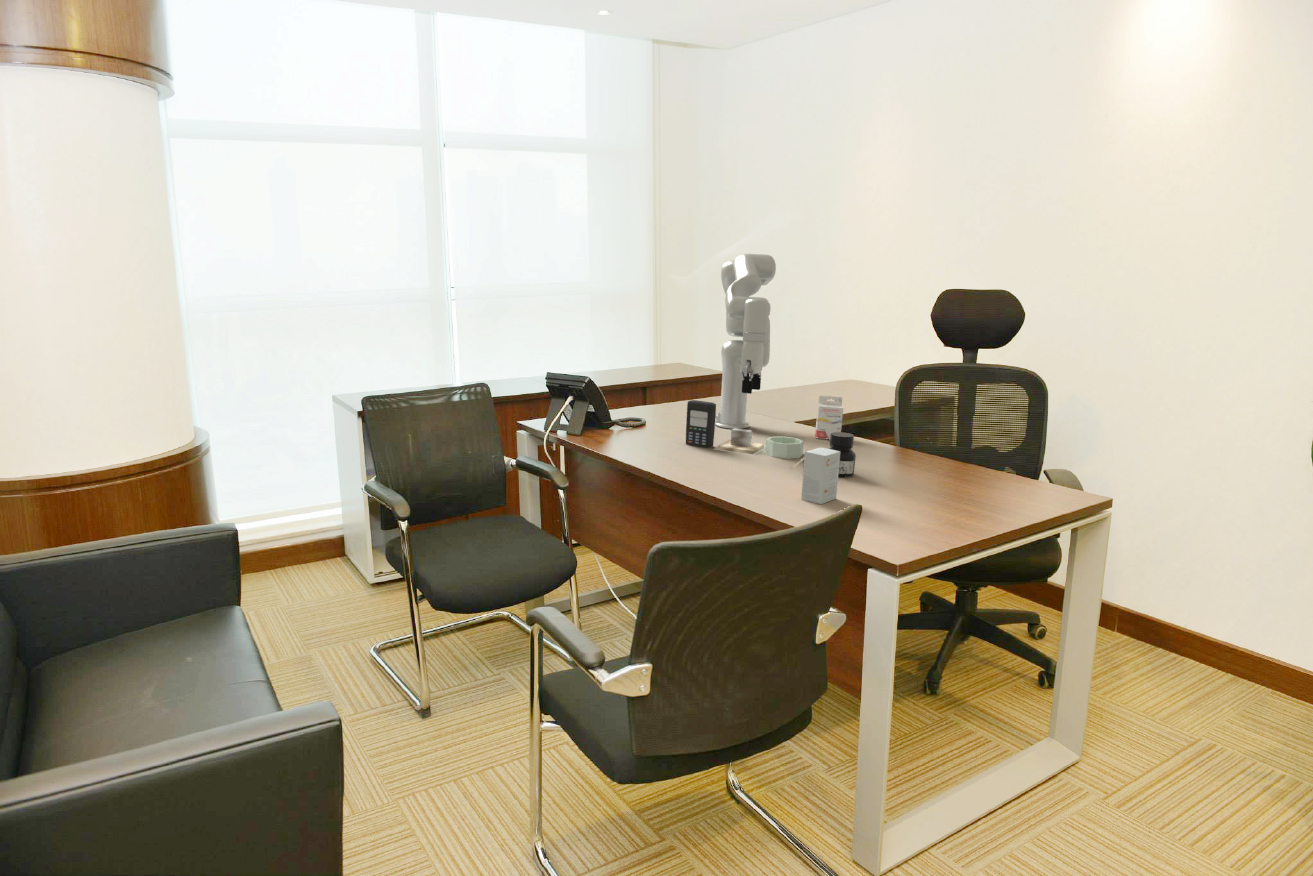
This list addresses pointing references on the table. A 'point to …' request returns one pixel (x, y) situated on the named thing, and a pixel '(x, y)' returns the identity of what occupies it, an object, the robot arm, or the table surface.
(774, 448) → the bowl
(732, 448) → the lid
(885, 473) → the table surface
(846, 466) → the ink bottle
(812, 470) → the small box
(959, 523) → the table surface
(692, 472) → the table surface
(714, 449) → the mat
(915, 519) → the table surface
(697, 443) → the card reader
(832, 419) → the ink cartridge box
